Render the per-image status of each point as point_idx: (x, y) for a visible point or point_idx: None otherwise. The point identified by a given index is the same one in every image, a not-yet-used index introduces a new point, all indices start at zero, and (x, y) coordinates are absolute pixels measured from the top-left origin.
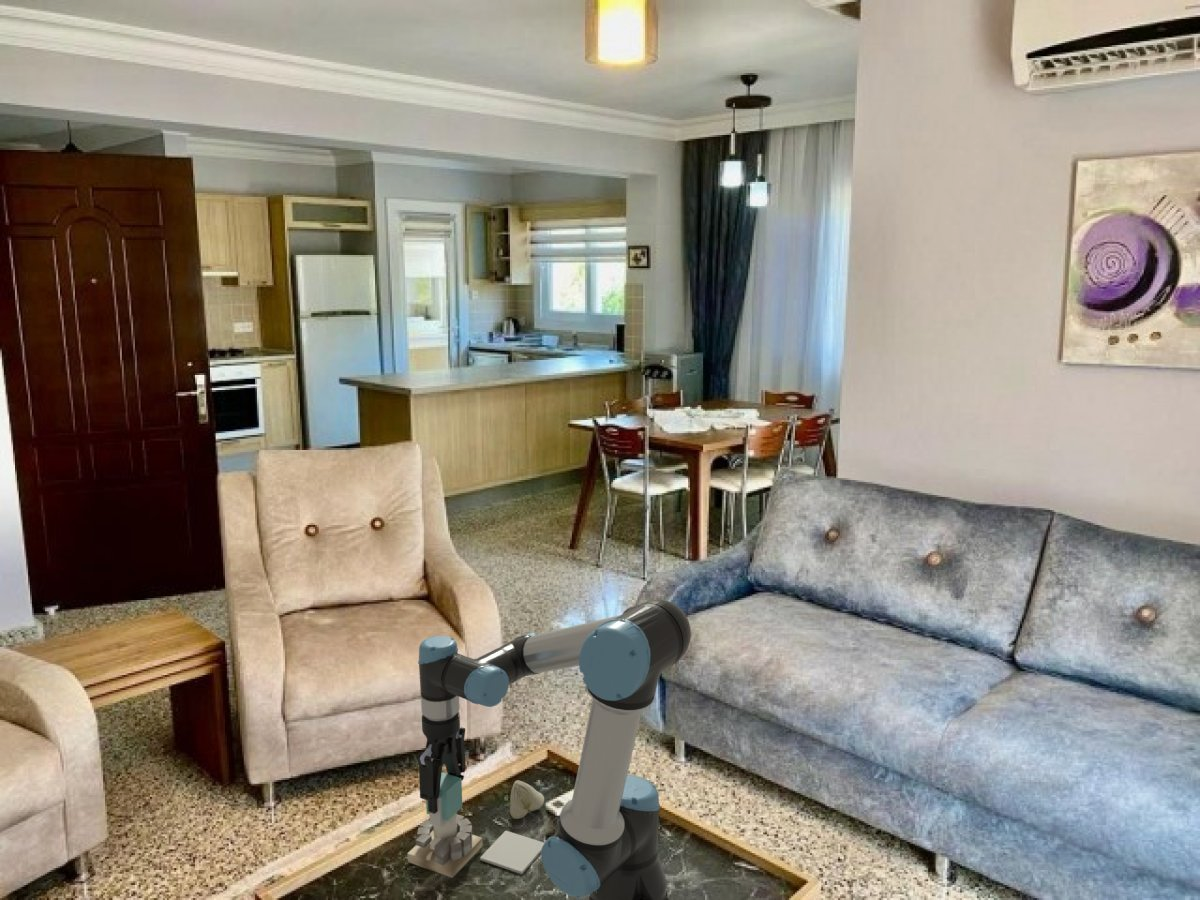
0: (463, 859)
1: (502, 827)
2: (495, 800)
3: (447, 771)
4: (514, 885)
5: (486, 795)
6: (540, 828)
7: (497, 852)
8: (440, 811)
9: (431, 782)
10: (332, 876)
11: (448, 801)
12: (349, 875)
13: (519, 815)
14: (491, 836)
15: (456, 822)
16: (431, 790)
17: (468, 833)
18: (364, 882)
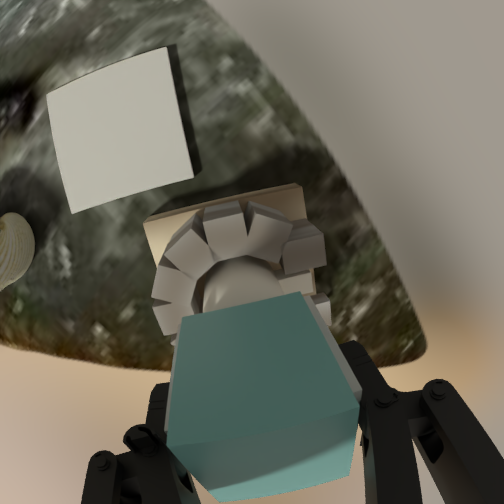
0: (243, 197)
1: (68, 235)
2: (37, 318)
3: (198, 499)
4: (214, 35)
5: (45, 342)
6: (17, 162)
7: (145, 156)
8: (329, 337)
9: (483, 466)
10: (399, 358)
11: (315, 353)
12: (389, 346)
13: (22, 224)
14: (107, 229)
15: (223, 286)
16: (462, 426)
17: (205, 228)
18: (394, 315)
